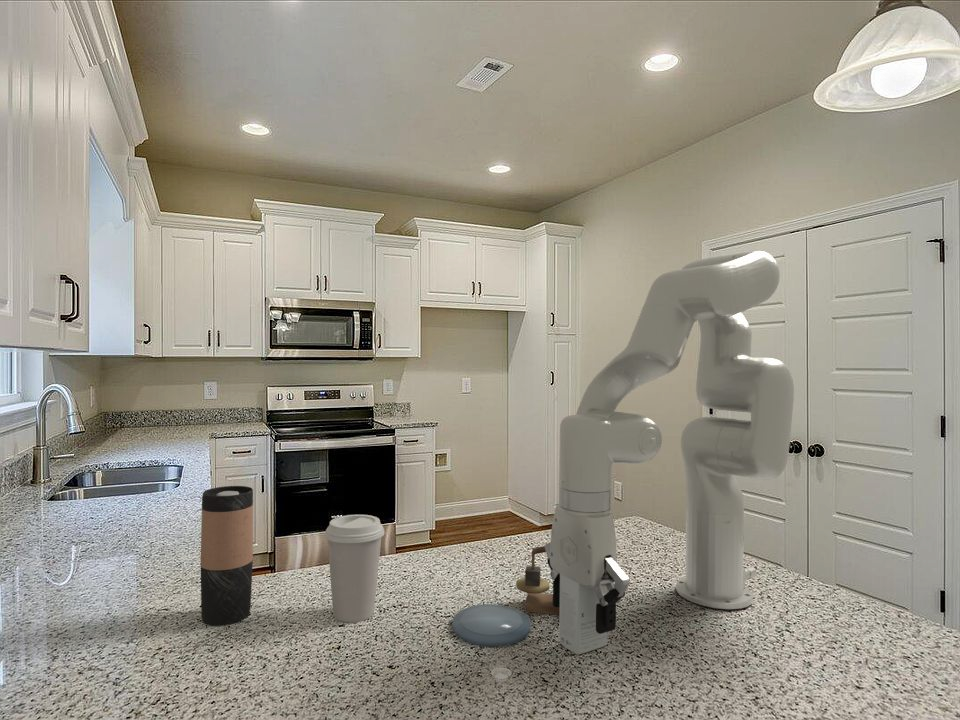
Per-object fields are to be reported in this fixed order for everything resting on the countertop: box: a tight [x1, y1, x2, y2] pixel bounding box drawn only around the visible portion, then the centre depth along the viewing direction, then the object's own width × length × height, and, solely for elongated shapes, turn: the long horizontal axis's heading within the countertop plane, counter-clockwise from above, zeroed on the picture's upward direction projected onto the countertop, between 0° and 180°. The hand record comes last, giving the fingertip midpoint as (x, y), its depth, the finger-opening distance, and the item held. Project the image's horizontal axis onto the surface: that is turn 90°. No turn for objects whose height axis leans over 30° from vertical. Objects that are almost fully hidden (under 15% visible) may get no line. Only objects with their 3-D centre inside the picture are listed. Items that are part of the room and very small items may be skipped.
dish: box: [452, 603, 531, 647], centre depth 88 cm, size 12×12×1 cm
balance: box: [515, 545, 560, 615], centre depth 95 cm, size 16×6×12 cm, turn 81°
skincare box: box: [558, 562, 609, 655], centre depth 83 cm, size 6×4×12 cm
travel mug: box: [200, 485, 254, 627], centre depth 91 cm, size 8×8×20 cm
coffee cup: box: [324, 514, 385, 623], centre depth 92 cm, size 10×10×15 cm
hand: (582, 617), depth 83 cm, fingers open, 9 cm apart
